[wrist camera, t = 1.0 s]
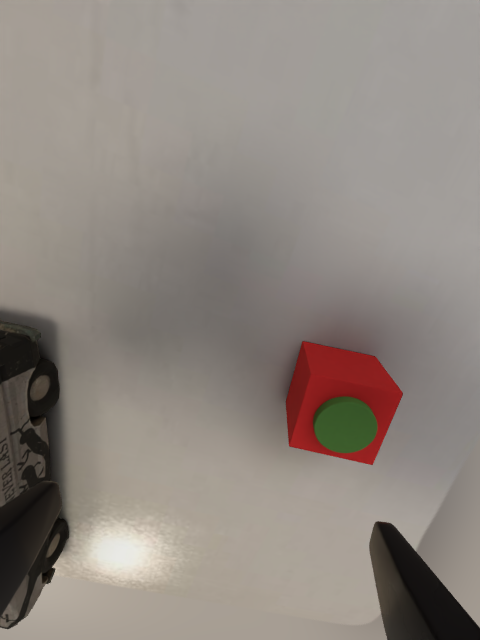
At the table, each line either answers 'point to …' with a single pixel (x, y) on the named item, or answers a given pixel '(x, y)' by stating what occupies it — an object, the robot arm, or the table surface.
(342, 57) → the table surface
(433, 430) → the table surface
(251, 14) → the table surface
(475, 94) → the table surface
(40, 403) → the toy car
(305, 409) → the red cube
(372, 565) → the robot arm
